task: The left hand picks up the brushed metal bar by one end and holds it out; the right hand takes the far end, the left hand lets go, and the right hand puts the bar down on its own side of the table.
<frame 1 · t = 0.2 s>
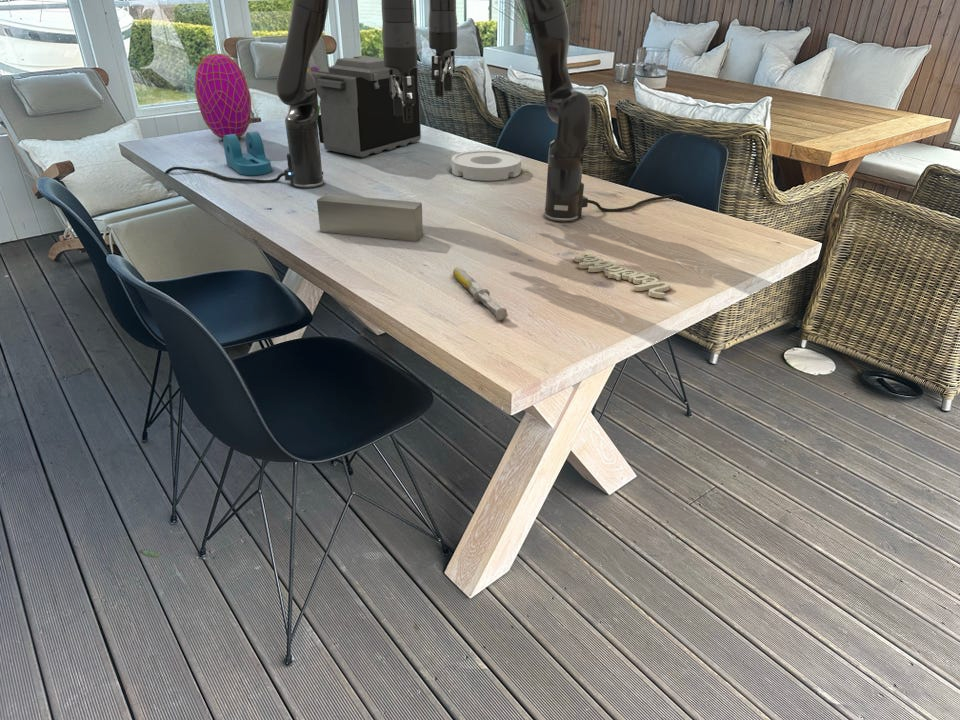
left hand: (443, 93, 191), 29 cm above the table, tool pointing down, fingers open, 8 cm apart
right hand: (403, 119, 161), 29 cm above the table, tool pointing down, fingers open, 8 cm apart
decorative sign: (623, 275, 156), on the table
syringe: (478, 297, 145), on the table
cooler box: (371, 146, 258), on the table
camera mount: (251, 168, 229), on the table
bar: (371, 233, 178), on the table
ashtray: (486, 171, 230), on the table
decorative egg: (230, 139, 266), on the table
potted flower: (312, 123, 292), on the table
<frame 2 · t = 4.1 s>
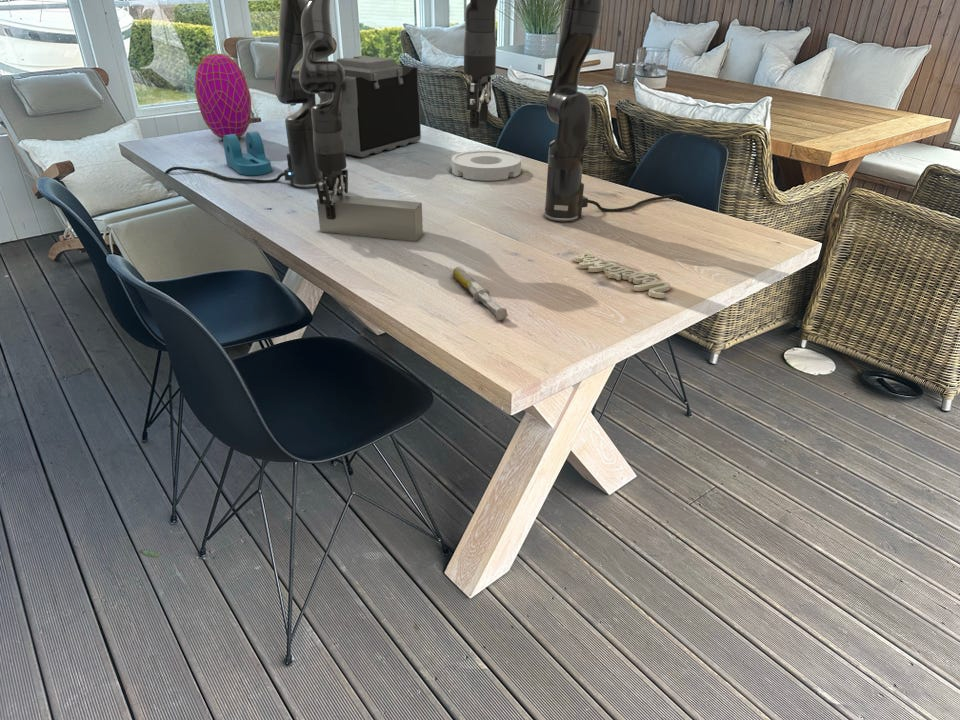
left hand: (336, 215, 178), 4 cm above the table, tool pointing down, fingers closed on bar, 5 cm apart
right hand: (479, 124, 169), 26 cm above the table, tool pointing down, fingers open, 8 cm apart
bar: (371, 233, 178), on the table, touching left hand
everything else where it was.
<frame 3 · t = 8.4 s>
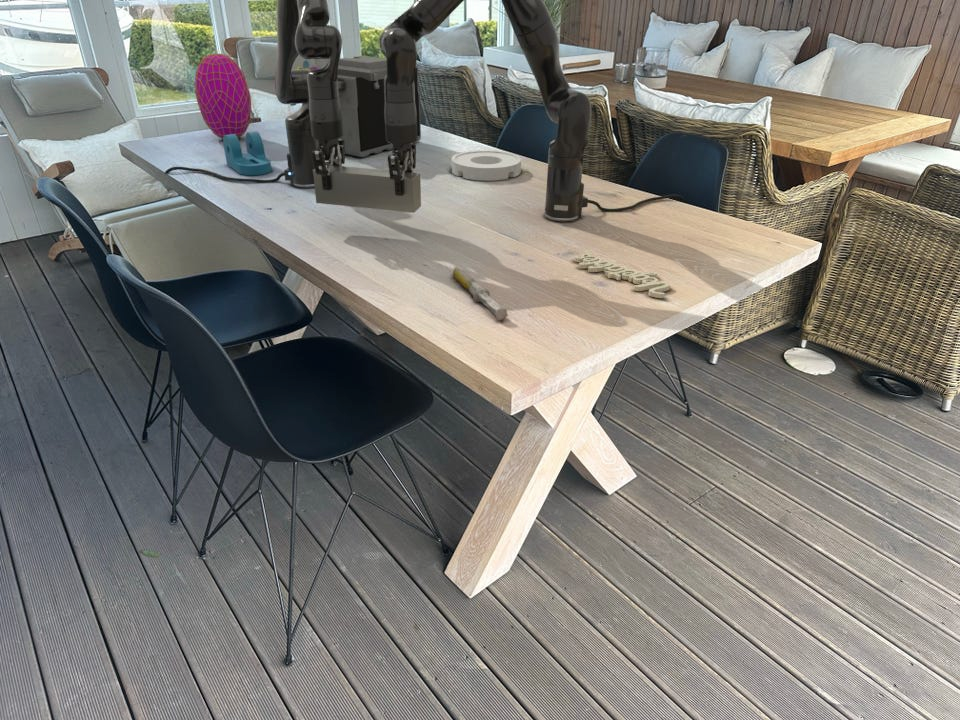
left hand: (332, 186, 174), 11 cm above the table, tool pointing down, fingers closed on bar, 5 cm apart
right hand: (404, 191, 170), 12 cm above the table, tool pointing down, fingers closed on bar, 5 cm apart
bar: (368, 204, 174), point 7 cm above the table, touching left hand, right hand
everything else where it was.
when the left hand's fingers open (11 cm above the table, at t = 9.5 s): bar stays where it is, held by the right hand.
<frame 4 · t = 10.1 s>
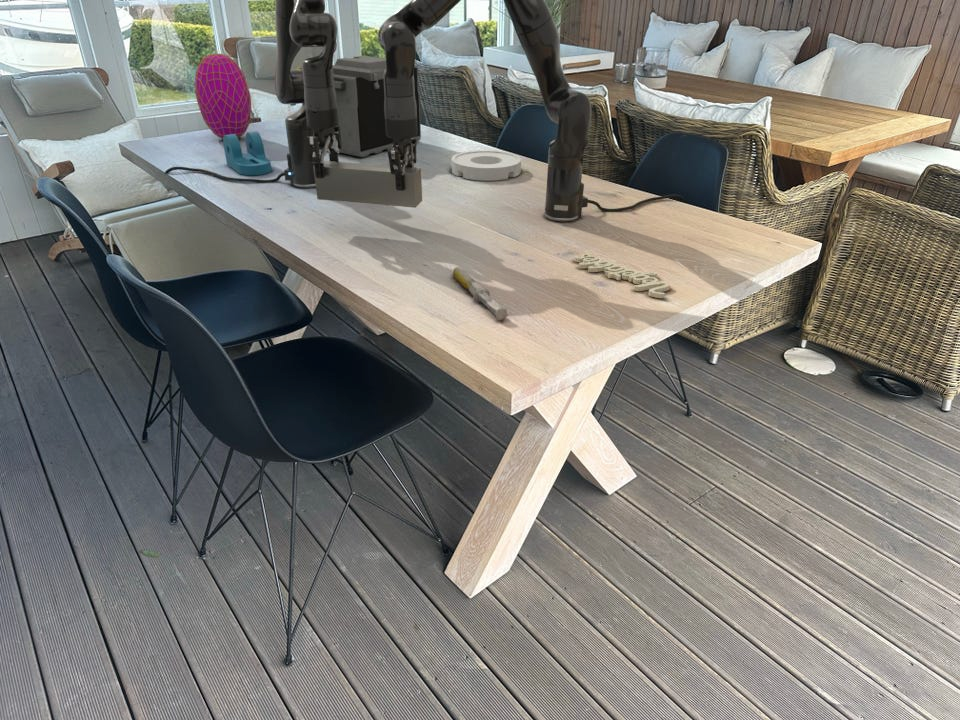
left hand: (327, 173, 173), 15 cm above the table, tool pointing down, fingers open, 8 cm apart
right hand: (405, 186, 169), 13 cm above the table, tool pointing down, fingers closed on bar, 5 cm apart
bar: (369, 200, 173), point 9 cm above the table, touching right hand
everything else where it was.
when the right hand's fingers open (6 cm above the table, at t = 13.0 s): bar drops 1 cm, on the table.
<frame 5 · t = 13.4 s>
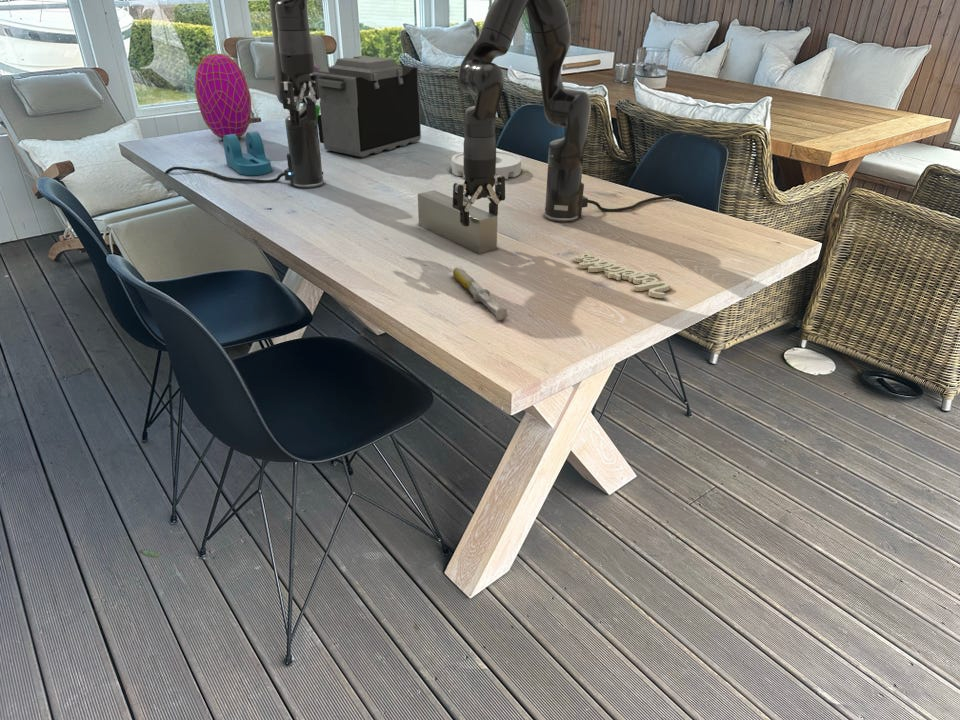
left hand: (304, 123, 167), 26 cm above the table, tool pointing down, fingers open, 8 cm apart
right hand: (479, 222, 167), 6 cm above the table, tool pointing down, fingers open, 8 cm apart
bar: (456, 236, 176), on the table
everything else where it was.
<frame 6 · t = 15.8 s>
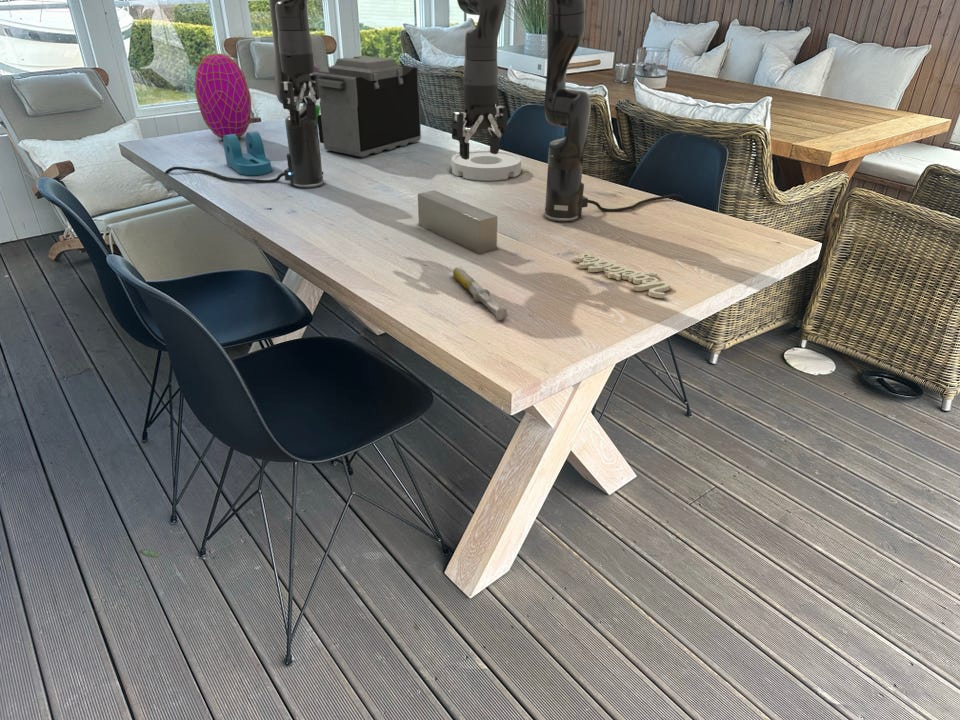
left hand: (304, 123, 167), 26 cm above the table, tool pointing down, fingers open, 8 cm apart
right hand: (479, 156, 159), 22 cm above the table, tool pointing down, fingers open, 8 cm apart
nothing on the table moved.
at the end: bar inside the target area (9.5 cm from its centre), on the table; the left hand is holding nothing; the right hand is holding nothing; bar at rest at the end (0.0 cm/s) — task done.
